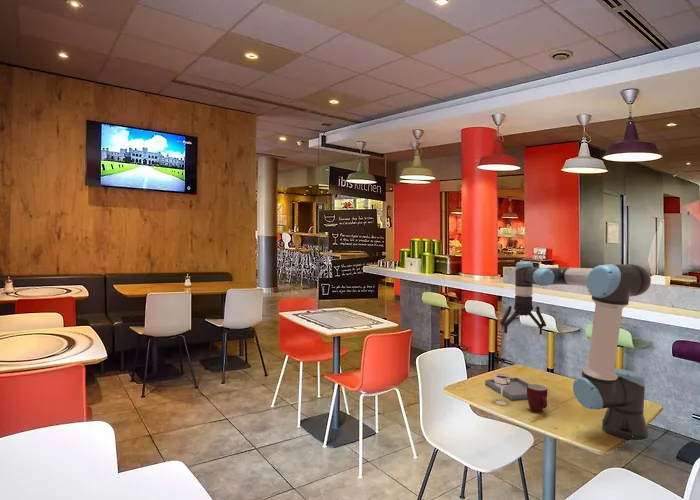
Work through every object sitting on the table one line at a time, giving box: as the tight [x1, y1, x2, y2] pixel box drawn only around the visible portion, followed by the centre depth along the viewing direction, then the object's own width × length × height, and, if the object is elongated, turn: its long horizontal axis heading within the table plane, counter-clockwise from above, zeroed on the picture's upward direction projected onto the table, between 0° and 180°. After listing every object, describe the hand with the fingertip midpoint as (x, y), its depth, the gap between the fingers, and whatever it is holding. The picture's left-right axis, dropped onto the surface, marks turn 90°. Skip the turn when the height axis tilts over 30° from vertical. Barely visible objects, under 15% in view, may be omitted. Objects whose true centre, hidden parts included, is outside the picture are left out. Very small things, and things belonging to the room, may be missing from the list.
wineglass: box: [493, 373, 511, 406], centre depth 201 cm, size 7×7×12 cm
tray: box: [484, 376, 530, 402], centre depth 216 cm, size 22×18×2 cm
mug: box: [527, 383, 548, 413], centre depth 192 cm, size 10×8×10 cm
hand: (522, 340), depth 211 cm, fingers open, 13 cm apart
